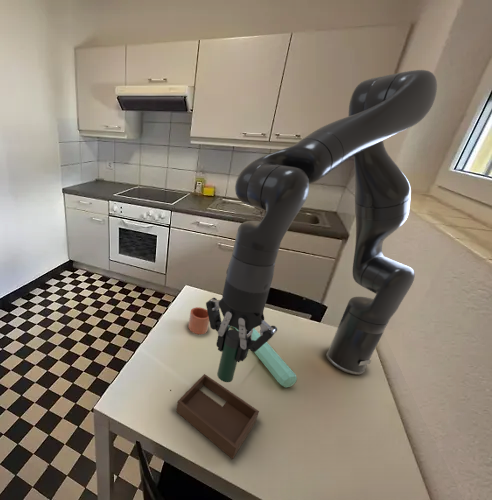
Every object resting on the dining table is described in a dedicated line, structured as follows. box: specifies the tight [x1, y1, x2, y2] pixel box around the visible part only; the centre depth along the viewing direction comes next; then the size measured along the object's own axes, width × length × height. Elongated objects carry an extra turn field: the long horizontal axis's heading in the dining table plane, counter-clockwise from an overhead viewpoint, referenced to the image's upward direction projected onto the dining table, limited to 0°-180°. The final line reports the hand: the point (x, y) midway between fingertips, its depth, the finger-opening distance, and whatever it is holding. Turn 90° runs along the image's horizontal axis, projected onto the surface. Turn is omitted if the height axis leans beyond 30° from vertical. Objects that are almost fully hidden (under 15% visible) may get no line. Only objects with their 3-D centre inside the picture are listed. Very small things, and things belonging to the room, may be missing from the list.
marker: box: [216, 329, 240, 383], centre depth 57 cm, size 3×3×11 cm
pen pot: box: [187, 306, 210, 335], centre depth 90 cm, size 6×6×6 cm
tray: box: [175, 373, 260, 460], centre depth 63 cm, size 11×14×4 cm
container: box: [232, 327, 298, 388], centre depth 82 cm, size 6×6×25 cm
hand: (230, 353), depth 56 cm, fingers closed on marker, 3 cm apart
